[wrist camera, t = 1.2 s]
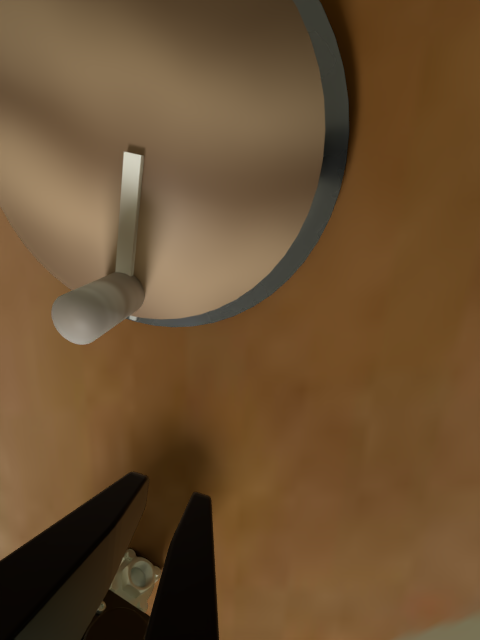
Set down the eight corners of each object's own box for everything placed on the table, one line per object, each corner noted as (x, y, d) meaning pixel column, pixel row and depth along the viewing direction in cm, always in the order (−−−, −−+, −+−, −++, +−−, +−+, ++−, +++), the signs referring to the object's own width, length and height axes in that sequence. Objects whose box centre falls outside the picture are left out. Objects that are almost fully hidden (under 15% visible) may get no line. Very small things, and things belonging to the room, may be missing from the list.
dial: (-12, -102, 15) (-175, -243, 10) (379, -45, 13) (415, -181, 8) (6, 270, 21) (-90, 297, 16) (275, 343, 19) (260, 399, 14)
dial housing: (199, -227, 13) (187, -267, 12) (419, 208, 17) (426, 210, 16) (-64, 101, 20) (-88, 96, 18) (136, 369, 23) (126, 379, 22)
